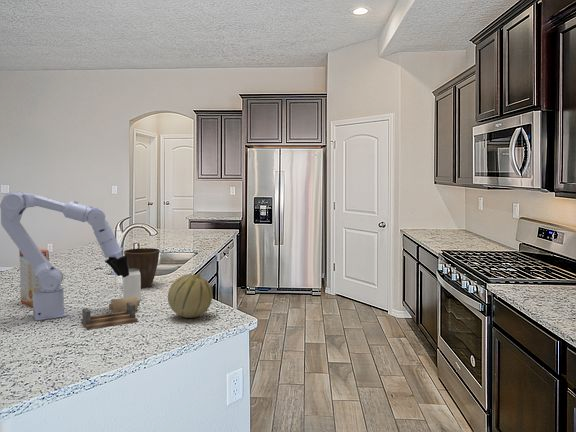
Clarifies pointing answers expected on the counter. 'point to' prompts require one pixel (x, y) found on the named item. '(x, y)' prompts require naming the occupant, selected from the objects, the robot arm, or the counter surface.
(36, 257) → the robot arm
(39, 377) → the counter surface
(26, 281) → the cracker box
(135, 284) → the can
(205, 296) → the cantaloupe
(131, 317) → the cradle
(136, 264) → the plant pot
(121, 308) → the bottle
